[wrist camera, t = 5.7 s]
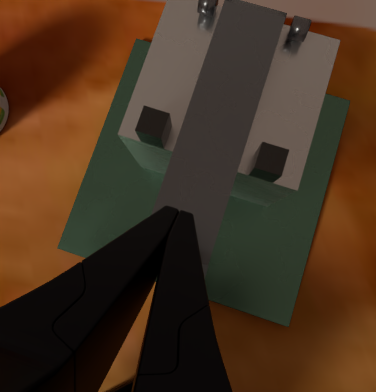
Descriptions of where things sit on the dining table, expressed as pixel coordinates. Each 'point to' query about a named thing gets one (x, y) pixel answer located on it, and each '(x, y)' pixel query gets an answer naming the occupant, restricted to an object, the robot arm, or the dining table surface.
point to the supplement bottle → (3, 109)
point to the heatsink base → (244, 227)
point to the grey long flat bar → (220, 117)
